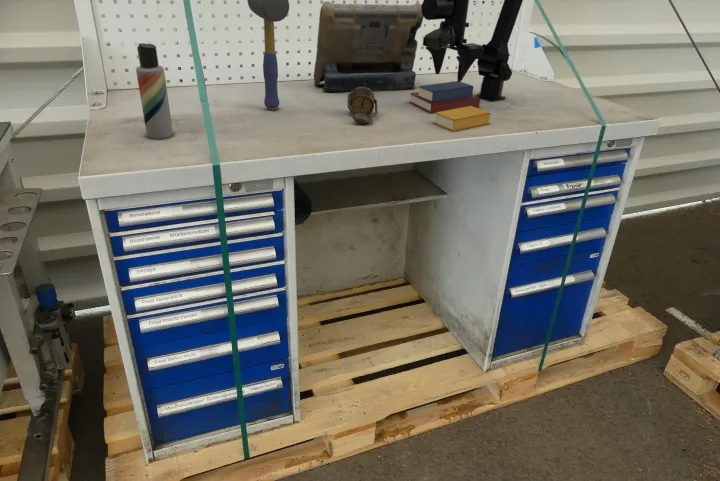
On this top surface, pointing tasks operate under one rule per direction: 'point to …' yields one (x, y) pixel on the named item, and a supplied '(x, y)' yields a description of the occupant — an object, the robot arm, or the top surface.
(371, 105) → the brown round dial piece
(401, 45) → the tablet
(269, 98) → the rubber mallet
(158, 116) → the lotion bottle
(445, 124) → the top book
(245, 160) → the top surface
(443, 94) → the middle book
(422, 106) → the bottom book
